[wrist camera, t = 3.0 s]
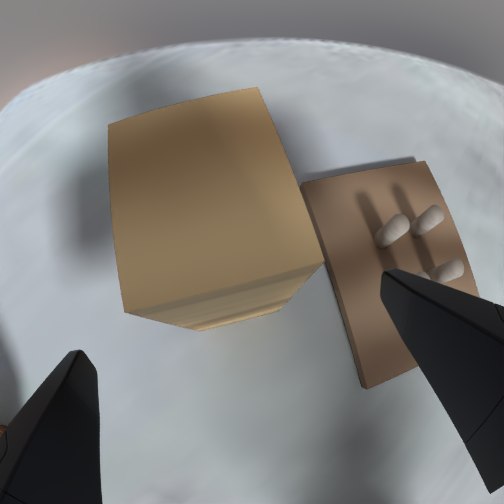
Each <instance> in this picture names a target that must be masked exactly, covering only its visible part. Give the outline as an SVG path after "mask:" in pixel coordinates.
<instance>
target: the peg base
mask: <svg viewBox="0 0 504 504" xmlns="http://www.w3.org/2000/svg"><path fill="white" fill-rule="evenodd" d="M300 192H301V194H302V197H303V200H304V202H305V205H306V208H307V211H308V213H309V216H310V219H311V222H312V225H313V227H314V230H315V233H316V236H317V239H318V242H319V245H320V248H321V251H322V254H323V257H324V260H325V263H326V266H327V269H328V272H329V275H330V278H331V281H332V284H333V287H334V291H335V294H336V297H337V300H338V304H339V307H340V310H341V313H342V317H343V320H344V324H345V327H346V330H347V334H348V337H349V341H350V344H351V348H352V352H353V355H354V359H355V363H356V366H357V370H358V374H359V378H360V382H361V386H362V387H363V388H366V389H369V388H371V387H373V386H376V385H378V384H381V383H383V382H385V381H387V380H390V379H392V378H394V377H396V376H398V375H400V374H403V373H405V372H407V371H409V370H411V369H413V368H415V367H417V366H418V364H417V362H416V361H415V359H414V358H413V356H412V355H411V353H410V351H409V350H408V348H407V347H406V345H405V344H404V342H403V340H402V339H401V337H400V335H399V333H398V331H397V329H396V327H395V325H394V324H393V322H392V320H391V318H390V316H389V314H388V312H387V310H386V308H385V306H384V305H383V303H382V301H381V298H380V286H381V275H382V273H383V271H385V270H388V269H391V268H398V269H400V270H403V271H406V272H409V273H412V274H415V275H418V276H421V277H424V278H426V279H429V280H432V281H435V282H438V283H441V284H444V285H446V286H449V287H452V288H455V289H457V290H460V291H463V292H466V293H469V294H471V295H474V296H477V297H479V293H478V290H477V286H476V283H475V280H474V277H473V273H472V270H471V267H470V264H469V261H468V258H467V255H466V253H465V250H464V247H463V244H462V242H461V239H460V236H459V234H458V231H457V229H456V226H455V224H454V221H453V219H452V217H451V214H450V212H449V210H448V207H447V205H446V203H445V201H444V198H443V196H442V194H441V192H440V190H439V188H438V185H437V183H436V181H435V179H434V177H433V175H432V173H431V171H430V169H429V167H428V165H427V164H426V162H425V161H420V162H413V163H407V164H401V165H394V166H388V167H382V168H377V169H371V170H365V171H360V172H354V173H349V174H343V175H338V176H333V177H328V178H323V179H318V180H313V181H308V182H303V183H302V184H301V187H300ZM479 298H480V297H479Z"/></svg>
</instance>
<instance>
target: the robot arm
mask: <svg viewBox="0 0 504 504" xmlns="http://www.w3.org/2000/svg"><path fill="white" fill-rule="evenodd" d="M380 298H381V301H382V303H383V305H384V306H385V308H386V310H387V312H388V314H389V316H390V318H391V320H392V322H393V324H394V325H395V327H396V329H397V331H398V333H399V335H400V337H401V339H402V340H403V342H404V344H405V345H406V347H407V348H408V350H409V351H410V353H411V355H412V356H413V358H414V359H415V361H416V362H417V364H418V366H419V367H420V369H421V370H422V372H423V373H424V375H425V377H426V378H427V380H428V382H429V383H430V385H431V386H432V388H433V390H434V391H435V393H436V395H437V396H438V398H439V400H440V401H441V403H442V405H443V407H444V408H445V410H446V412H447V413H448V415H449V417H450V419H451V420H452V422H453V424H454V426H455V428H456V429H457V431H458V433H459V435H460V437H461V438H462V440H463V442H464V444H465V446H466V448H467V450H468V452H469V454H470V456H471V458H472V460H473V461H474V463H475V465H476V467H477V469H478V471H479V473H480V475H481V477H482V479H483V481H484V483H485V486H486V488H487V490H488V492H489V493H490V494H491V493H493V492H494V491H496V490H497V489H499V488H500V487H502V486H503V485H504V306H501V305H498V304H494V303H493V302H490V301H488V300H485V299H482V298H479V297H477V296H474V295H471V294H469V293H466V292H463V291H460V290H457V289H455V288H452V287H449V286H446V285H444V284H441V283H438V282H435V281H432V280H429V279H426V278H424V277H421V276H418V275H415V274H412V273H409V272H406V271H403V270H400V269H398V268H391V269H388V270H385V271H383V273H382V275H381V286H380ZM0 504H102V492H101V475H100V413H99V398H98V377H97V371H96V368H95V367H94V365H93V364H92V362H91V361H90V360H89V358H88V357H87V355H86V354H85V353H84V351H82V350H74V351H70V352H69V353H68V354H67V355H66V356H65V357H64V358H63V360H62V361H61V362H60V363H59V364H58V365H57V366H56V368H55V369H54V370H53V371H52V372H51V373H50V375H49V376H48V377H47V378H46V379H45V381H44V382H43V383H42V384H41V385H40V387H39V388H38V389H37V390H36V391H35V393H34V394H33V395H32V396H31V397H30V399H29V400H28V401H27V402H26V404H25V405H24V406H23V407H22V409H21V410H20V411H19V412H18V414H17V415H16V416H15V418H14V419H13V420H12V421H11V423H10V424H9V425H8V427H7V428H6V430H4V432H3V433H2V434H1V436H0Z"/></svg>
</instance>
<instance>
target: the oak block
mask: <svg viewBox="0 0 504 504" xmlns="http://www.w3.org/2000/svg"><path fill="white" fill-rule="evenodd" d="M108 164H109V188H110V204H111V216H112V227H113V237H114V246H115V254H116V262H117V269H118V276H119V283H120V289H121V295H122V301H123V307H124V312H125V313H129V314H132V315H136V316H140V317H144V318H147V319H151V320H155V321H159V322H163V323H167V324H171V325H175V326H179V327H184V328H188V329H192V330H197V331H203V330H207V329H211V328H215V327H219V326H223V325H227V324H231V323H235V322H239V321H243V320H246V319H250V318H254V317H258V316H261V315H265V314H269V313H272V312H276V311H279V310H280V309H281V307H282V306H283V305H284V304H285V303H286V302H287V301H288V300H289V299H290V298H291V297H292V296H293V295H294V294H295V293H296V292H297V291H298V290H299V288H300V287H301V286H302V285H303V284H304V283H305V282H306V281H307V280H308V279H309V278H310V277H311V276H312V274H313V273H314V272H315V271H316V270H317V269H318V268H319V267H320V266H321V265H322V264H323V262H324V261H325V260H324V257H323V254H322V251H321V248H320V245H319V242H318V239H317V236H316V233H315V231H314V228H313V225H312V222H311V219H310V216H309V214H308V211H307V208H306V205H305V203H304V200H303V197H302V195H301V192H300V189H299V187H298V184H297V181H296V179H295V176H294V173H293V171H292V168H291V166H290V163H289V161H288V158H287V156H286V153H285V151H284V148H283V146H282V143H281V141H280V138H279V136H278V133H277V131H276V128H275V126H274V124H273V121H272V119H271V117H270V114H269V112H268V109H267V107H266V105H265V103H264V100H263V98H262V96H261V93H260V91H259V89H258V87H254V88H248V89H242V90H237V91H231V92H226V93H221V94H216V95H212V96H207V97H202V98H198V99H194V100H190V101H186V102H182V103H178V104H174V105H170V106H167V107H163V108H159V109H156V110H152V111H149V112H146V113H143V114H139V115H136V116H133V117H130V118H127V119H124V120H121V121H118V122H115V123H112V124H109V125H108Z"/></svg>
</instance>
